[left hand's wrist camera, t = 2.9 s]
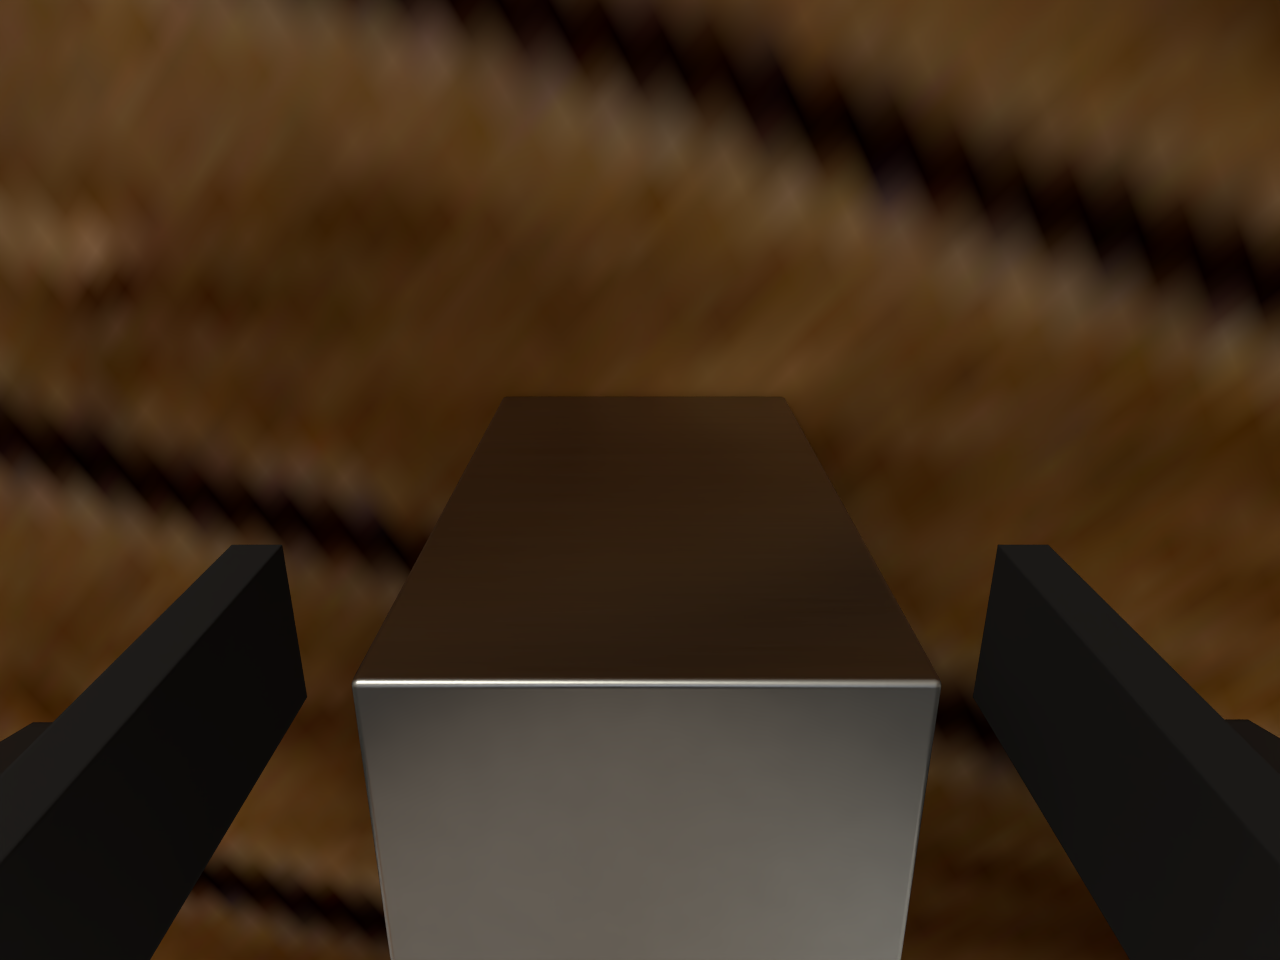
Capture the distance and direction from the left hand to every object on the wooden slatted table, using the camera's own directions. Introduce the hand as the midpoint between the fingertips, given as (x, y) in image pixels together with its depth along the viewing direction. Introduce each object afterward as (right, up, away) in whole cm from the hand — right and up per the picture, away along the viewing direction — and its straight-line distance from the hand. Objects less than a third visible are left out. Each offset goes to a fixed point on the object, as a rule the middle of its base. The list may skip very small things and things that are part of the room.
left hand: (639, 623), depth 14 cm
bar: (0, -8, +5) cm, 10 cm away
